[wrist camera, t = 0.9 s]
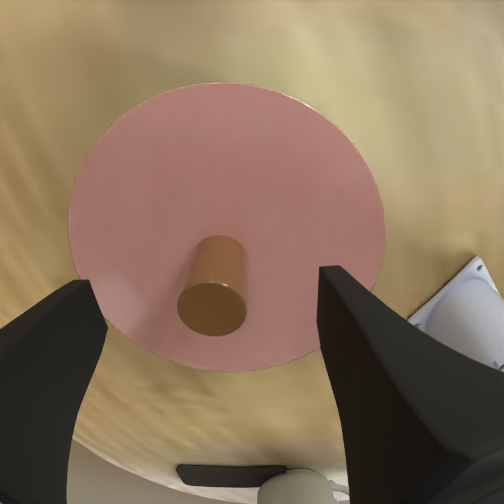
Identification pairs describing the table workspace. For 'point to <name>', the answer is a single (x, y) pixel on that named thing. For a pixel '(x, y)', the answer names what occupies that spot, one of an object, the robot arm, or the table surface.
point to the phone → (227, 475)
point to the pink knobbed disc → (222, 224)
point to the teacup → (299, 489)
